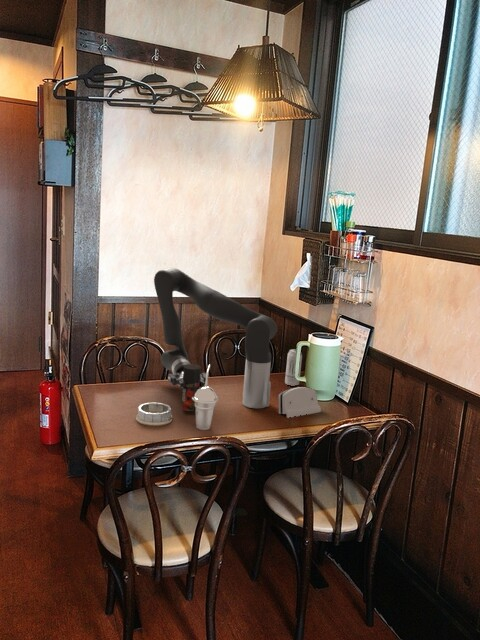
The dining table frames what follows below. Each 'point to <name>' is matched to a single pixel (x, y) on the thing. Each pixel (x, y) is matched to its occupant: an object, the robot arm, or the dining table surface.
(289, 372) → the energy drink can
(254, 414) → the dining table surface
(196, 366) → the deodorant
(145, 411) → the silver bowl
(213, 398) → the cup with straw
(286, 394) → the hinge
